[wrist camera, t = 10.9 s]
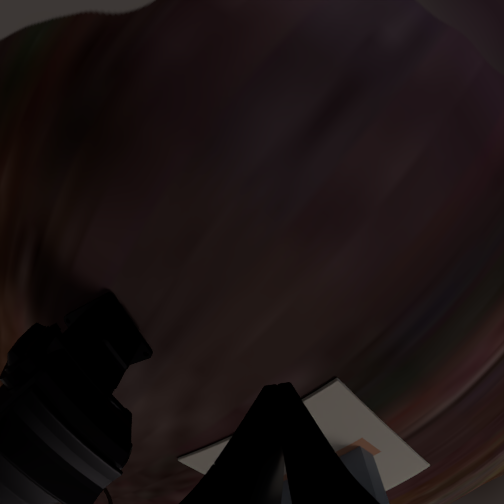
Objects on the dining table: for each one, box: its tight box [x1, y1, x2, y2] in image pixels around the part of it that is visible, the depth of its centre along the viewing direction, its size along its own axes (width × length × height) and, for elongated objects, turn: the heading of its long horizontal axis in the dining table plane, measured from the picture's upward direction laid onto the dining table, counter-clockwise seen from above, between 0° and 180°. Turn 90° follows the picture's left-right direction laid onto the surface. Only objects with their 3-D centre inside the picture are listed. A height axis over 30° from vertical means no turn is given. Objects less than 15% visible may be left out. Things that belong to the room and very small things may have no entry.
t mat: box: [178, 378, 430, 491], centre depth 30 cm, size 34×22×1 cm, turn 41°
